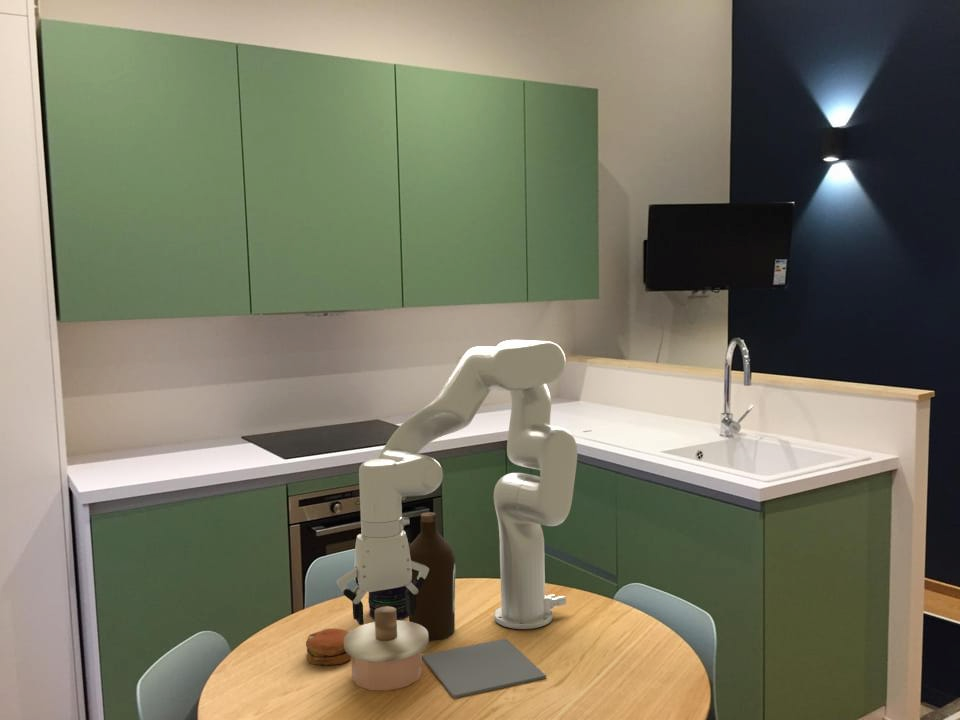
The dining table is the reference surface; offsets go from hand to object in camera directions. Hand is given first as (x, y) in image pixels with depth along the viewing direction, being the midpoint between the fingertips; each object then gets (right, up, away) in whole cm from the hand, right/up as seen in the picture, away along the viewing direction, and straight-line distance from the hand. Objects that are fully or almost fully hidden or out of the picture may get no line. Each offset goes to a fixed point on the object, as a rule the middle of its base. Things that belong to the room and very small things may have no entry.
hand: (385, 617), depth 155 cm
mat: (+18, -10, +3) cm, 21 cm away
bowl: (0, -11, +1) cm, 11 cm away
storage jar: (-2, -9, +31) cm, 32 cm away
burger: (-12, -11, +9) cm, 19 cm away
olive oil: (+8, -9, +20) cm, 23 cm away
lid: (0, -5, 0) cm, 5 cm away
